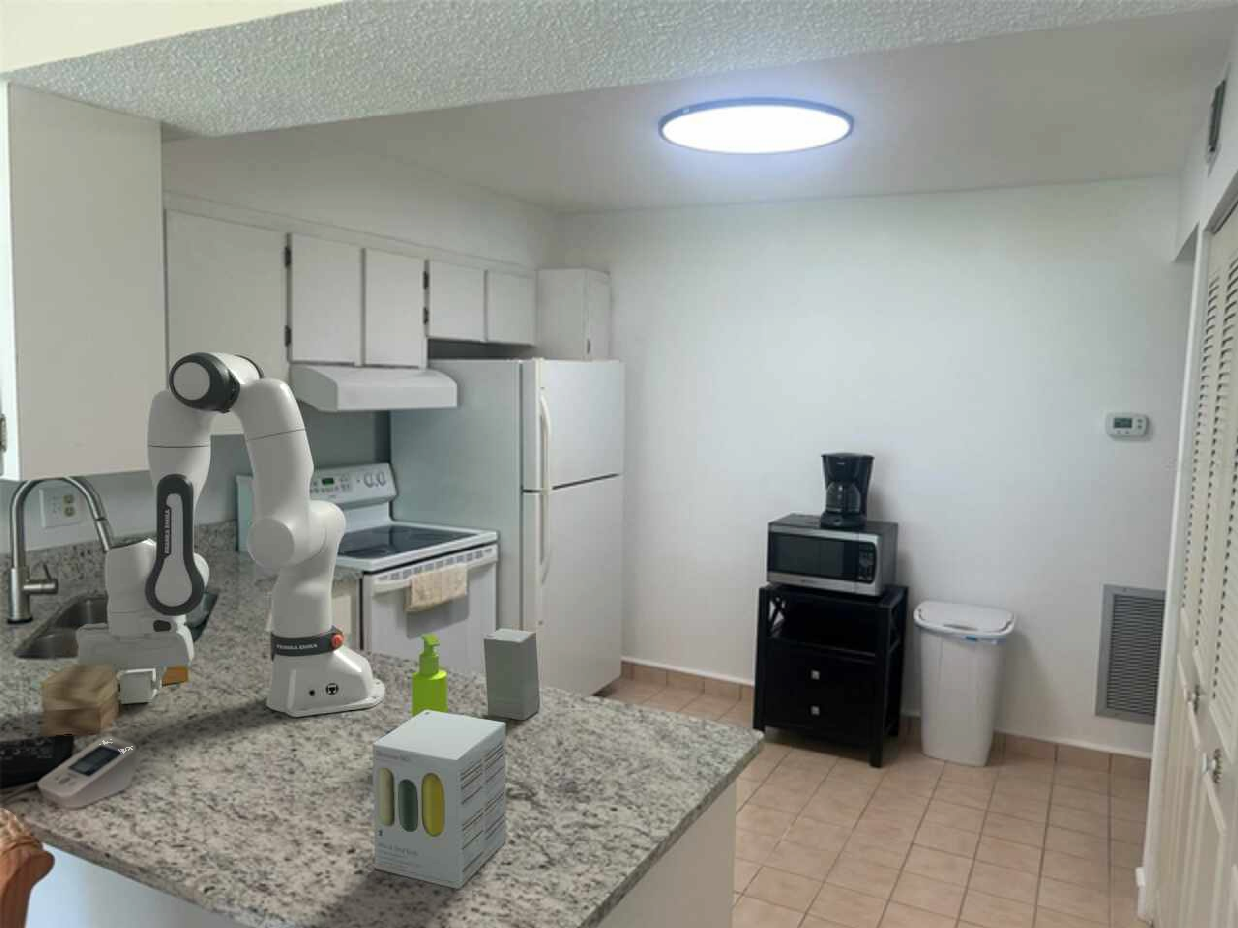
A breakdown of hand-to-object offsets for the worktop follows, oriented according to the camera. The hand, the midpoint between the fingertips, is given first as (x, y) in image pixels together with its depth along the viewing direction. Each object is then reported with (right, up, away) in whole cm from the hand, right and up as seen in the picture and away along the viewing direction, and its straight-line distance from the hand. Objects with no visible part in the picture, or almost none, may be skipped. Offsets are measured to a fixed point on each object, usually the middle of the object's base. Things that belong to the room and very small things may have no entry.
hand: (138, 689), depth 176 cm
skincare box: (+74, -4, -4) cm, 74 cm away
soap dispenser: (+61, -5, -20) cm, 65 cm away
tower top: (-4, +1, -12) cm, 13 cm away
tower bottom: (-4, -4, -11) cm, 13 cm away
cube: (0, -2, 0) cm, 2 cm away
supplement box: (+70, -9, -53) cm, 89 cm away
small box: (-1, -1, +12) cm, 12 cm away
